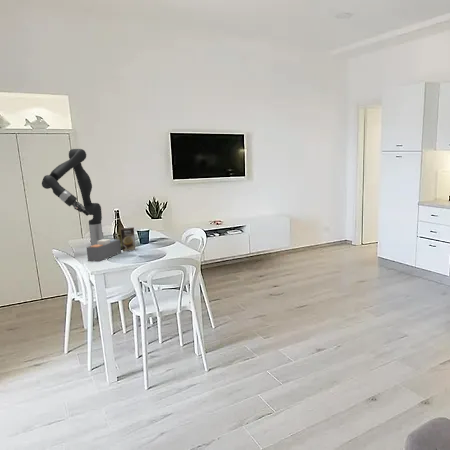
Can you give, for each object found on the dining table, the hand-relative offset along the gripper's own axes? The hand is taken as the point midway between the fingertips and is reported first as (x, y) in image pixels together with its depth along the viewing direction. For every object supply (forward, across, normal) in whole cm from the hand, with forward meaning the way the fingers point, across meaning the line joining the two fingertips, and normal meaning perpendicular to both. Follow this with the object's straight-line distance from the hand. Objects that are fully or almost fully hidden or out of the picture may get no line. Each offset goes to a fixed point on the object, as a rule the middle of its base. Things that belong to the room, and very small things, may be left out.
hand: (88, 214), depth 269 cm
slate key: (+25, -1, +6) cm, 26 cm away
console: (+27, -8, +13) cm, 31 cm away
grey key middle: (+21, -8, +7) cm, 24 cm away
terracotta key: (+20, -15, +11) cm, 28 cm away
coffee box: (+38, +6, +3) cm, 38 cm away
